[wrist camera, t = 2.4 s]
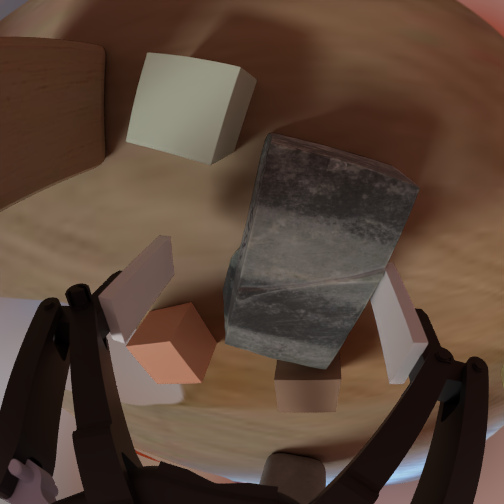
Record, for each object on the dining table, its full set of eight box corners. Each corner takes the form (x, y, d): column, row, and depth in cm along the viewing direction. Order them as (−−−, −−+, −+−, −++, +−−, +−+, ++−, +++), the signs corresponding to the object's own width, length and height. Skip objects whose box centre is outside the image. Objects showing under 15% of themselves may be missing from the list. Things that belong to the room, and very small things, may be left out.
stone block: (223, 302, 24) (204, 346, 19) (260, 124, 17) (243, 128, 12) (324, 329, 23) (325, 376, 18) (392, 165, 16) (422, 184, 11)
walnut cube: (284, 370, 26) (278, 411, 22) (280, 335, 24) (274, 379, 19) (334, 369, 25) (335, 411, 21) (338, 333, 23) (341, 379, 18)
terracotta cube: (175, 347, 27) (157, 383, 23) (150, 310, 25) (125, 346, 21) (217, 342, 26) (201, 382, 21) (191, 301, 24) (169, 341, 19)
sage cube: (166, 132, 17) (125, 141, 13) (185, 64, 15) (147, 52, 11) (234, 151, 17) (210, 165, 13) (257, 80, 15) (240, 67, 11)
